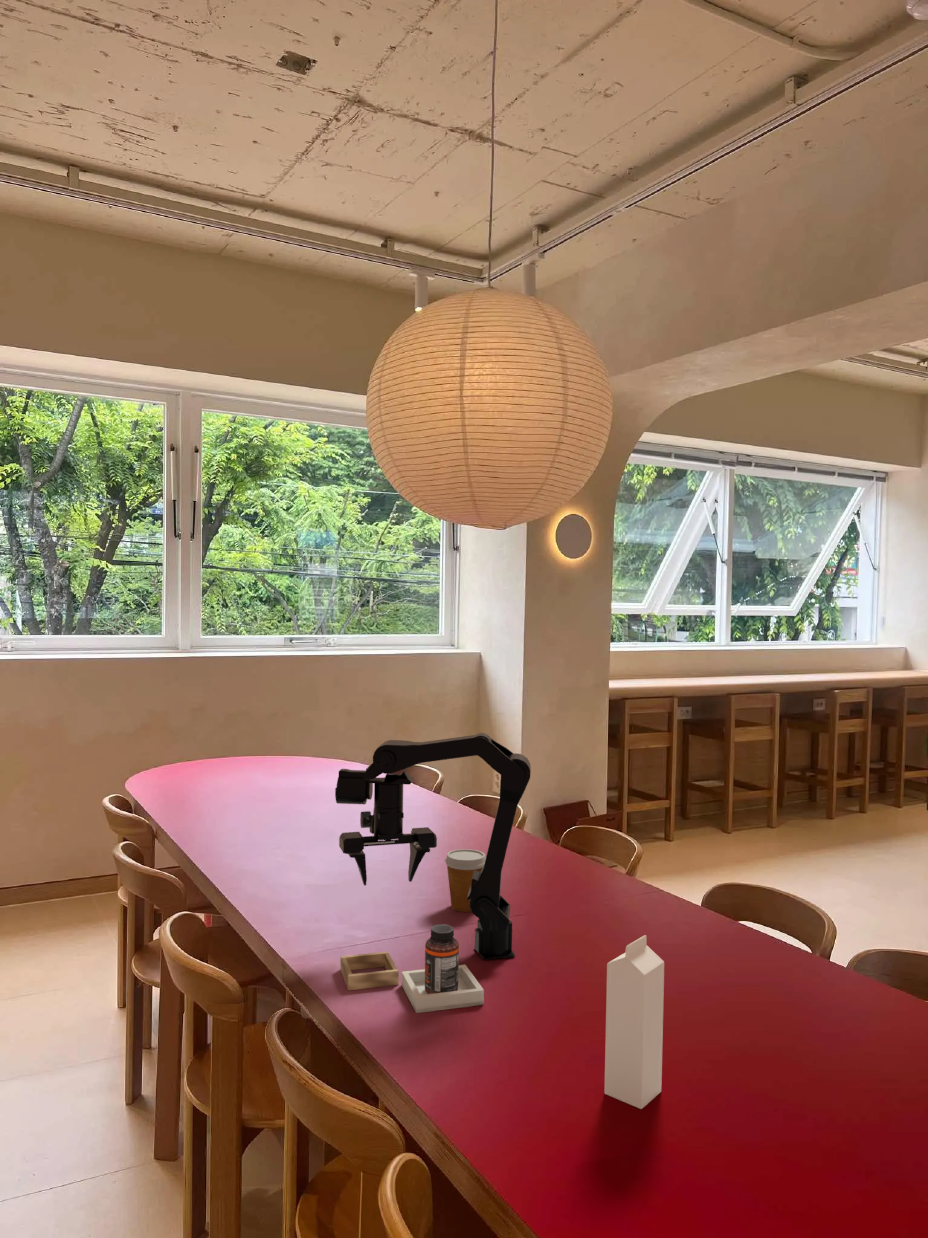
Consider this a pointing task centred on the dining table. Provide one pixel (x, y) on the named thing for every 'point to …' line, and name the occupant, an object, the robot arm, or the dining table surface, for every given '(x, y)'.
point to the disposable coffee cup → (462, 875)
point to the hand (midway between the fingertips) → (387, 883)
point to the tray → (463, 997)
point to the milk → (634, 1025)
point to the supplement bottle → (441, 960)
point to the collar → (369, 978)
